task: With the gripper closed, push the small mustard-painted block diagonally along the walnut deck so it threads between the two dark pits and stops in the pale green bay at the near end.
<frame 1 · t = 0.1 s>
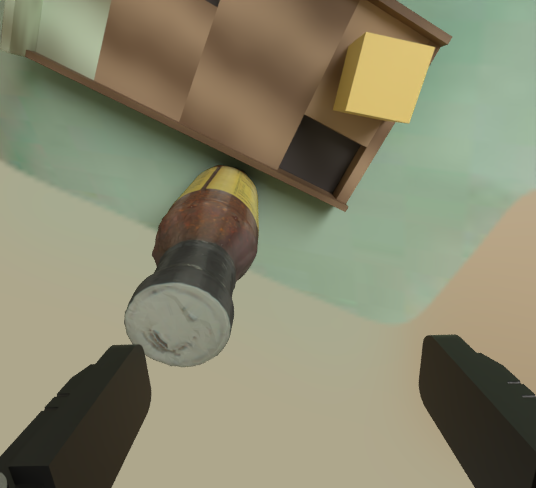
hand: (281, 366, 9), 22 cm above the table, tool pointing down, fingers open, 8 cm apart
sauce bottle: (228, 194, 30), on the table
trap deck: (236, 51, 25), on the table
mustard block: (368, 85, 24), point 2 cm above the table, touching trap deck
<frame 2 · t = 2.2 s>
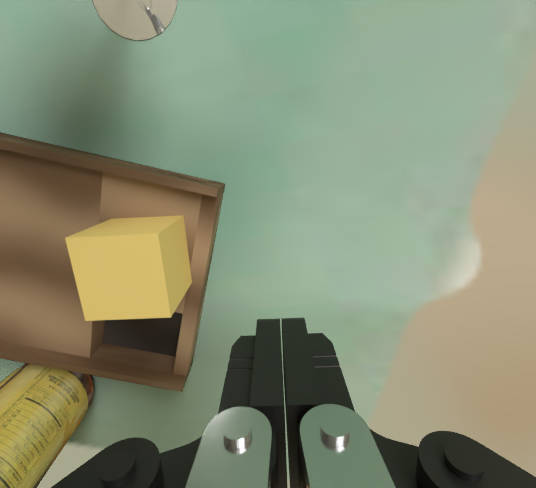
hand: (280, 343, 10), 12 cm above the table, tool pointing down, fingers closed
sauce bottle: (65, 379, 25), on the table
trap deck: (11, 241, 21), on the table
mustard block: (153, 251, 19), point 2 cm above the table, touching trap deck
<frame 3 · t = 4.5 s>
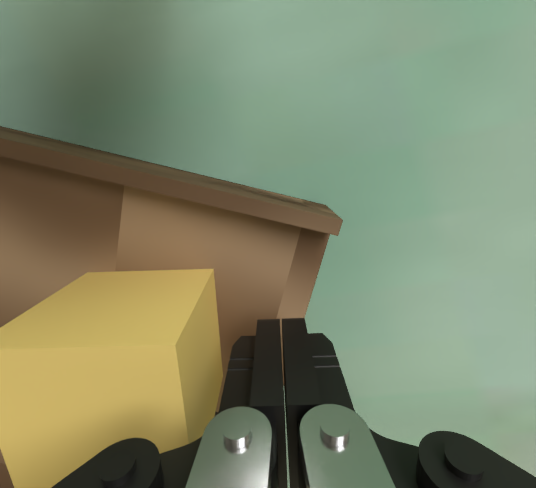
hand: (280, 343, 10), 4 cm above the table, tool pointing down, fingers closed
mustard block: (158, 326, 11), point 2 cm above the table, touching gripper
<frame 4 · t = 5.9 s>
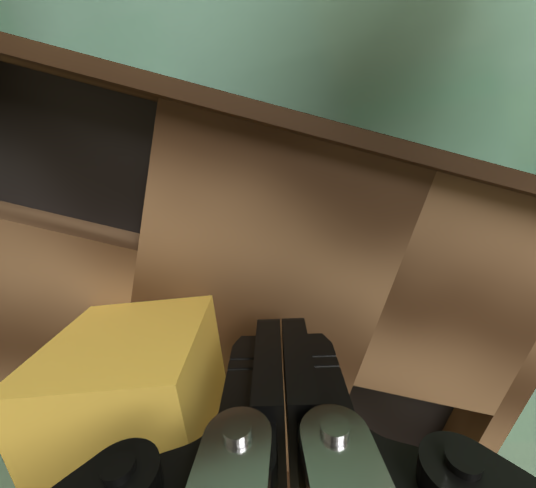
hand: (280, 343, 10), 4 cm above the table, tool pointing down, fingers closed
trap deck: (198, 285, 13), on the table
mustard block: (163, 353, 12), point 2 cm above the table, touching gripper, trap deck
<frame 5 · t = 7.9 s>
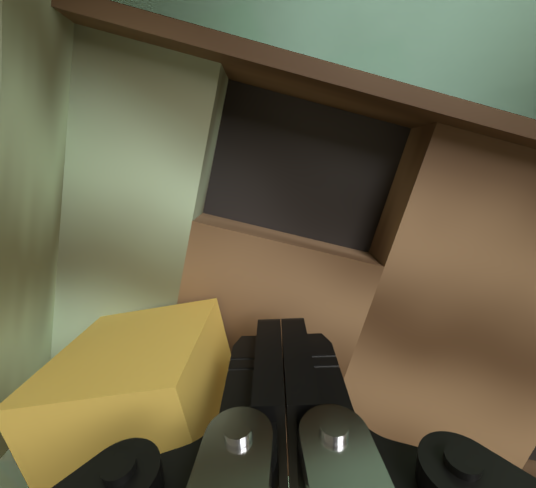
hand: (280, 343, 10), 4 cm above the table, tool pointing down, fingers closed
trap deck: (397, 298, 13), on the table
mustard block: (173, 359, 12), point 2 cm above the table, touching gripper, trap deck
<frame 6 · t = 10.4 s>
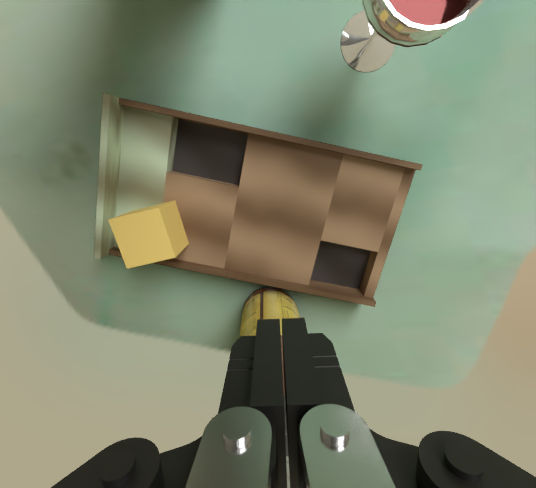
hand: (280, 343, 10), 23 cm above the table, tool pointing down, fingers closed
sauce bottle: (271, 307, 35), on the table
trap deck: (256, 206, 32), on the table
mustard block: (160, 227, 30), point 2 cm above the table, touching trap deck
wineglass: (367, 42, 28), on the table
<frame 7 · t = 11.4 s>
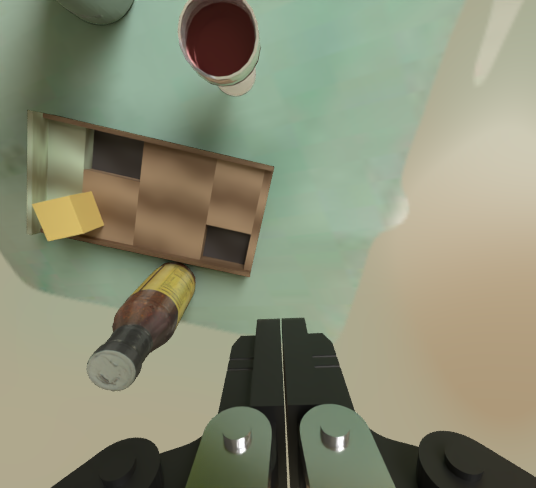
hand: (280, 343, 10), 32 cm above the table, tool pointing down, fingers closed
sauce bottle: (177, 279, 44), on the table
trap deck: (159, 197, 41), on the table
mustard block: (81, 212, 39), point 2 cm above the table, touching trap deck
wineglass: (235, 73, 37), on the table
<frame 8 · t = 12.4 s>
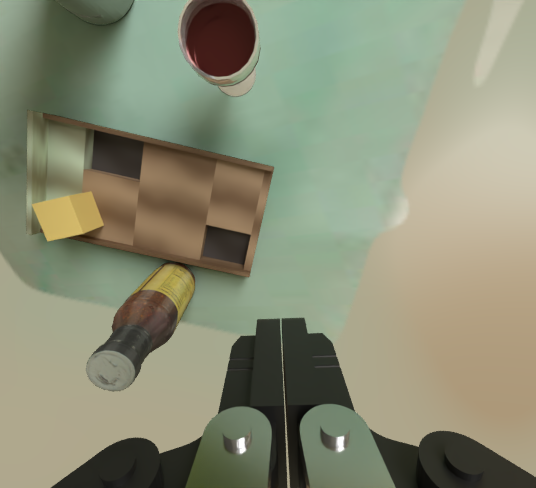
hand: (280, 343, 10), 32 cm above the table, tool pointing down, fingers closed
sauce bottle: (177, 279, 44), on the table
trap deck: (159, 197, 41), on the table
mustard block: (81, 212, 39), point 2 cm above the table, touching trap deck
wineglass: (235, 74, 37), on the table
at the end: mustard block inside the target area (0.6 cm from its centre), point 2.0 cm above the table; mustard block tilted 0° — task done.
